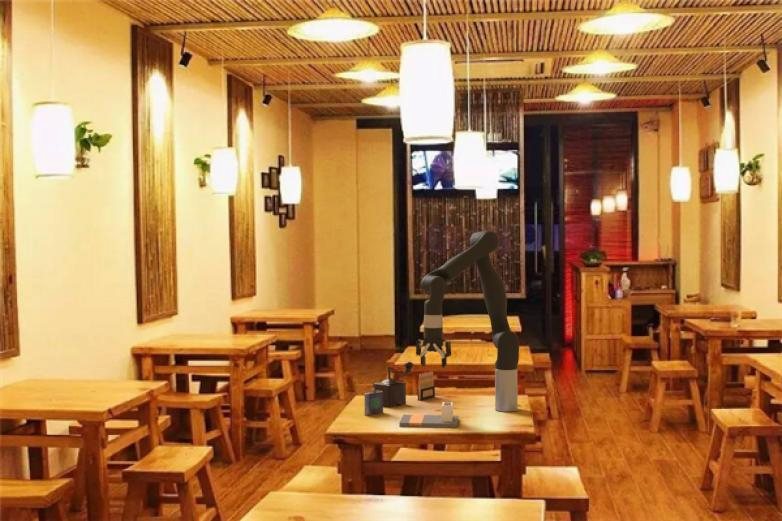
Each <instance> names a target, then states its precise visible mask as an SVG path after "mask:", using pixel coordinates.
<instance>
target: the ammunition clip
mask: <svg viewBox="0 0 782 521" xmlns="http://www.w3.org/2000/svg"><path fill="white" fill-rule="evenodd" d="M435 388H436V386H435V380H434V372H433V370H431V371H429V372H428V371H426V372H422V373H419V376H418V389H417V401H419V402H422V401H427V400H429V399H433V398H436V389H435Z"/></svg>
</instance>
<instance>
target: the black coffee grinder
mask: <svg viewBox="0 0 782 521" xmlns="http://www.w3.org/2000/svg"><path fill="white" fill-rule="evenodd" d="M404 367H405V370H404V371H399V370H391V366H390V365H389V366H387V372H388V373H387V374H388V375H387V376H388V377H387V378H385V379H383V380H382V381H378V382H374V383H372V388H374V389H375V391H377V390H379V391H383V408H389V409H390V408H395V407H400V406H403V405H406V404H407V400H406V399H407V397H406V396H407V387H406V386H407V384H406V382H403V381H398V380H397V379H396V378H392V377H391V373H394V374H402V375H403V374H409V373H412V369H413V368H414V363H413V362H411V361H406V362H404Z"/></svg>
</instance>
